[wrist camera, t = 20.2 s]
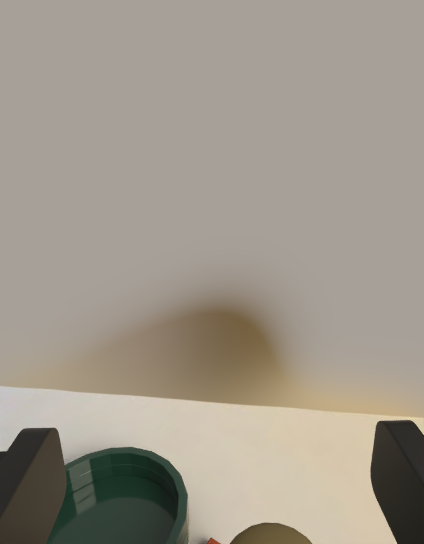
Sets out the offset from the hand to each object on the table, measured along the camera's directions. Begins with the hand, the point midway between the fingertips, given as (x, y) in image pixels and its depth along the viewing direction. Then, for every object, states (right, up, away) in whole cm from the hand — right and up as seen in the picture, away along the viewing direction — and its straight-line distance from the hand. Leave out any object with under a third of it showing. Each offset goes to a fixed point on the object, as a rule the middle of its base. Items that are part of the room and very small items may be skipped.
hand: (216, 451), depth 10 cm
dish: (-8, -16, +20) cm, 27 cm away
